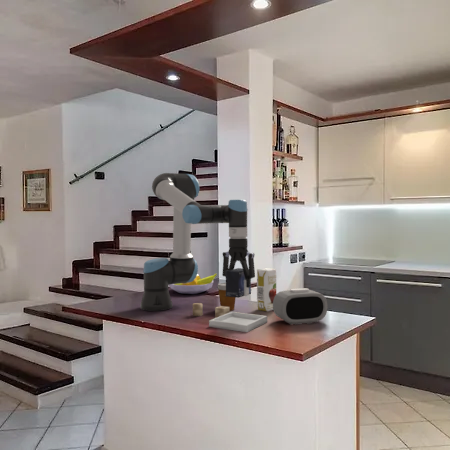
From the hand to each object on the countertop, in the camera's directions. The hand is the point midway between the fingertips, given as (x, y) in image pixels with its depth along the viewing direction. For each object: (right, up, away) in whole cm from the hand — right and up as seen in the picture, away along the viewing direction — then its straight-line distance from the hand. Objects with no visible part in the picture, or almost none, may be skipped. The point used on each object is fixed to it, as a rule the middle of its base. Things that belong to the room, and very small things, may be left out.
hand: (238, 294), depth 178 cm
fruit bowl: (-24, -11, +75) cm, 80 cm away
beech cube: (-7, -12, +13) cm, 19 cm away
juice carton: (+14, -12, +28) cm, 33 cm away
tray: (0, -12, 0) cm, 12 cm away
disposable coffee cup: (-4, -12, +28) cm, 31 cm away
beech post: (-18, -12, +17) cm, 28 cm away
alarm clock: (+26, -12, +4) cm, 29 cm away
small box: (0, -1, 0) cm, 1 cm away
